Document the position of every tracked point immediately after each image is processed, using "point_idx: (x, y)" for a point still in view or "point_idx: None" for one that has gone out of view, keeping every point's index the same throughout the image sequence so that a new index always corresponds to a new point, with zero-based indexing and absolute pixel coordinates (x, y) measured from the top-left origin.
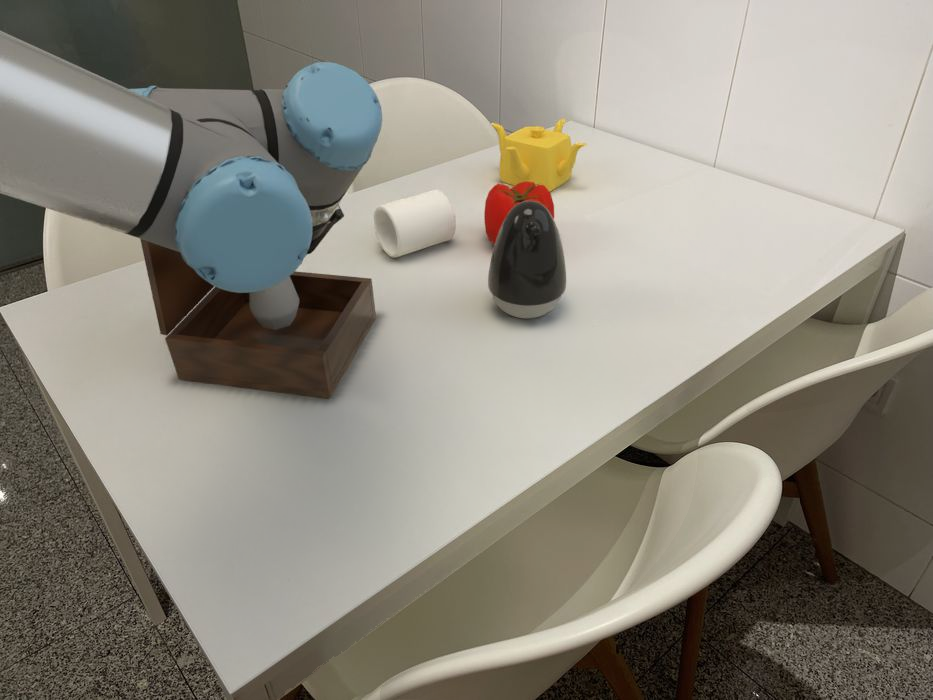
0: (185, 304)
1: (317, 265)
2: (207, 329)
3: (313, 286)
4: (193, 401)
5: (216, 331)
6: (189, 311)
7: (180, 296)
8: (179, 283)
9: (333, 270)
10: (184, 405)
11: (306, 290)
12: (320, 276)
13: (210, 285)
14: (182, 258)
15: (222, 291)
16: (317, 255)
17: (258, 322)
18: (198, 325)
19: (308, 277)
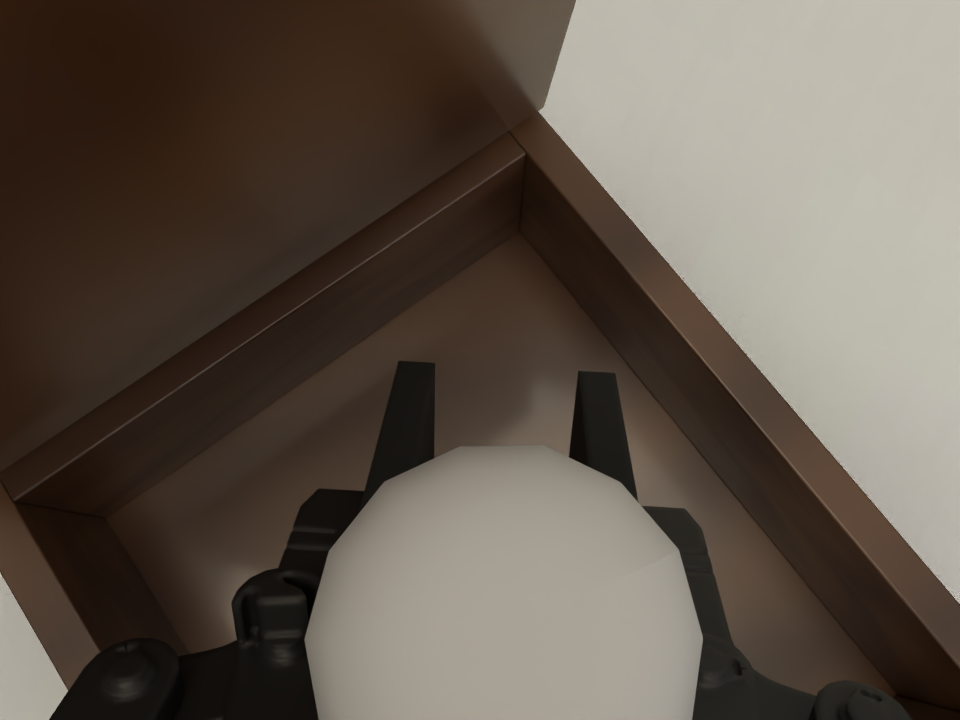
0: (95, 383)
1: (910, 139)
2: (246, 393)
3: (773, 477)
4: (41, 689)
5: (303, 374)
6: (136, 379)
7: (35, 394)
8: (10, 372)
9: (950, 219)
10: (5, 688)
11: (736, 448)
12: (834, 502)
13: (316, 250)
14: (7, 297)
15: (382, 261)
16: (948, 69)
17: (482, 407)
18: (181, 414)
19: (778, 455)
